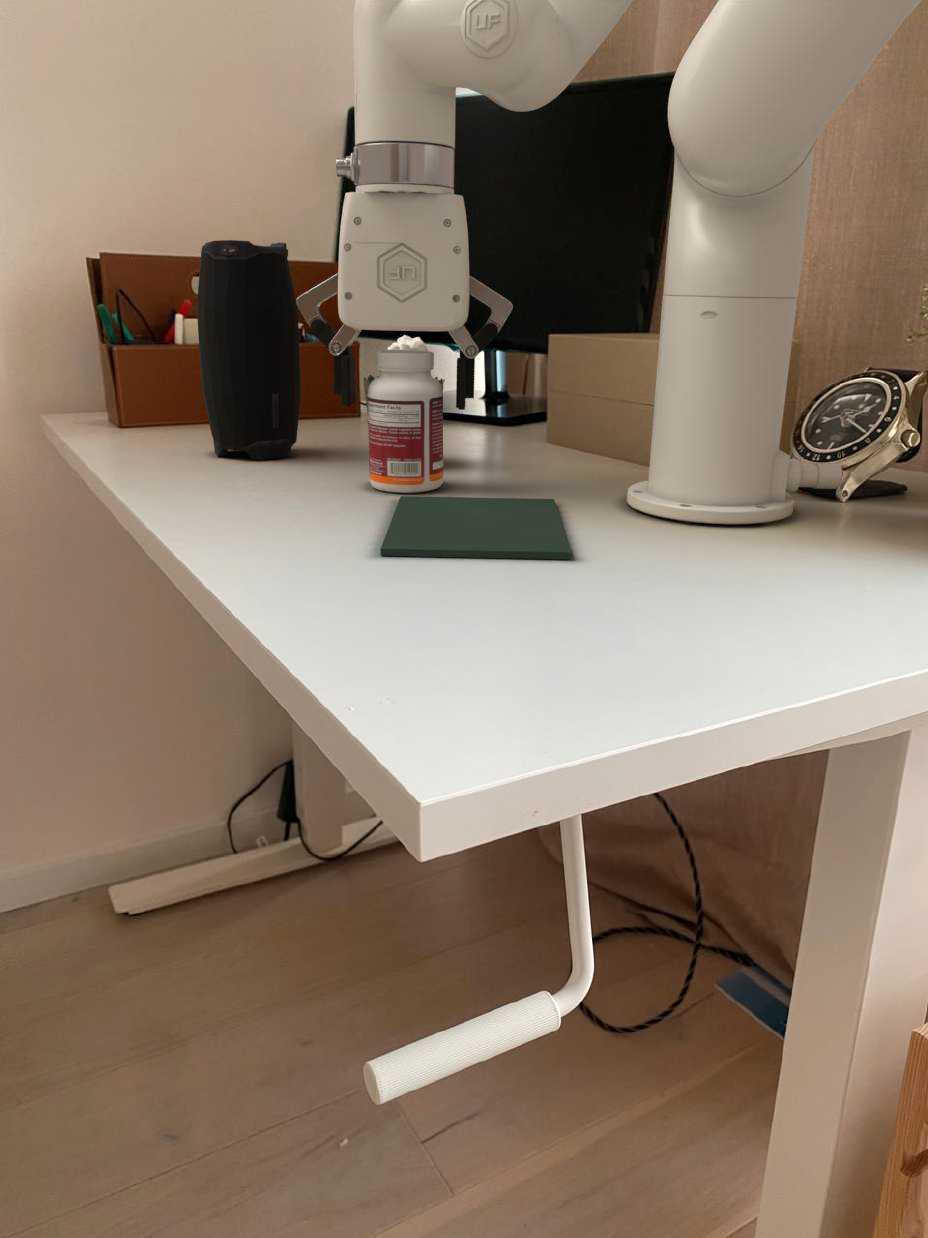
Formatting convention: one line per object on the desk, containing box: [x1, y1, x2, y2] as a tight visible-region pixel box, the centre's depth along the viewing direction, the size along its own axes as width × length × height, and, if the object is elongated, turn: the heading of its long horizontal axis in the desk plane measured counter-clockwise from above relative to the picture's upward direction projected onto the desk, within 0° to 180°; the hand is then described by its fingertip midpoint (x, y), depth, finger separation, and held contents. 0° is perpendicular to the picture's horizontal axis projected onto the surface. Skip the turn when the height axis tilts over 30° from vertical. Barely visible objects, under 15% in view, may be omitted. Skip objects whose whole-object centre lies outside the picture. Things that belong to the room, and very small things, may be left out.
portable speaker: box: [196, 239, 301, 461], centre depth 94 cm, size 9×9×20 cm
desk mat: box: [379, 495, 573, 560], centre depth 69 cm, size 12×16×1 cm
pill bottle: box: [367, 349, 444, 494], centre depth 81 cm, size 6×6×11 cm
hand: (404, 405), depth 80 cm, fingers open, 8 cm apart
